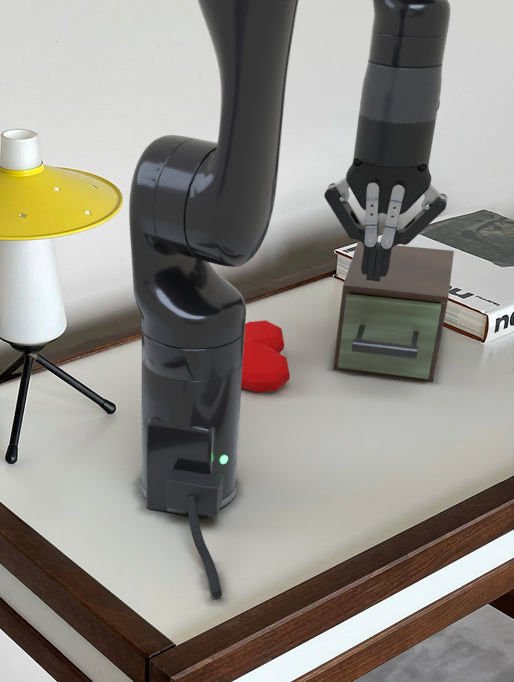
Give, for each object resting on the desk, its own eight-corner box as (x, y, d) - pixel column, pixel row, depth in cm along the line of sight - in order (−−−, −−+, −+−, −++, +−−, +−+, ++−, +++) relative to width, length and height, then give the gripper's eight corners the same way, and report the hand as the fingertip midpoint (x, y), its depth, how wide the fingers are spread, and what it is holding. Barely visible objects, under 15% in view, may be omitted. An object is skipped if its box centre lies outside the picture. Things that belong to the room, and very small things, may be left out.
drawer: (425, 402, 112) (438, 329, 107) (331, 389, 115) (339, 317, 110) (434, 331, 127) (446, 264, 122) (351, 321, 130) (359, 255, 125)
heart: (204, 406, 117) (291, 399, 116) (201, 377, 114) (291, 369, 113) (200, 346, 125) (281, 338, 124) (197, 317, 122) (280, 309, 121)
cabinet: (432, 382, 118) (448, 296, 112) (333, 369, 121) (343, 285, 115) (439, 330, 129) (454, 250, 123) (348, 320, 132) (358, 241, 126)
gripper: (325, 113, 98) (307, 283, 108) (465, 124, 95) (434, 298, 105) (336, 97, 104) (318, 260, 114) (468, 107, 101) (438, 273, 111)
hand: (373, 278), depth 110 cm, fingers closed
